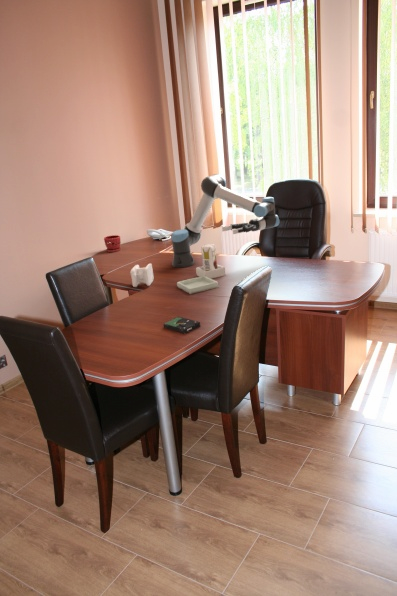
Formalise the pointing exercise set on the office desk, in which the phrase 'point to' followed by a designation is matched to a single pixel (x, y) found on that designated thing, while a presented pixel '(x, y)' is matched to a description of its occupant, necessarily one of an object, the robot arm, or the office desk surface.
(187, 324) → the disk drive
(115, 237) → the plant pot
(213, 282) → the tray
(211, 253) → the juice carton
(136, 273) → the cable organizer
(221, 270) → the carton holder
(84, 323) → the office desk surface
